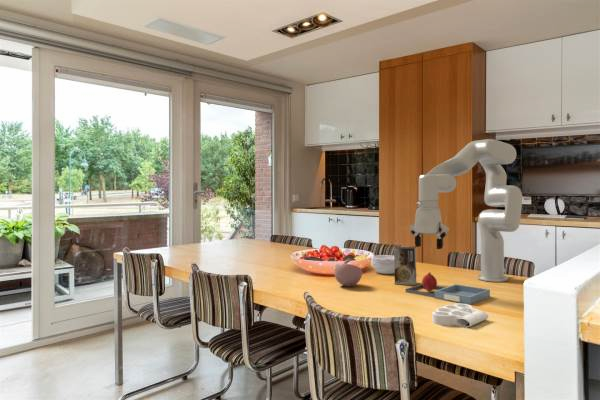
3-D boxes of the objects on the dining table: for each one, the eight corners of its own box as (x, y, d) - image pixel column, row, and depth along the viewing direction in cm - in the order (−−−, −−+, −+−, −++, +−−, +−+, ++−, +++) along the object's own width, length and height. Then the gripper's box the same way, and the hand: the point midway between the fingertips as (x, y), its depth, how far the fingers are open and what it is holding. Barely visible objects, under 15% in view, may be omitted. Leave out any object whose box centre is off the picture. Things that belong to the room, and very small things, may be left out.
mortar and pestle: (365, 284, 194) (365, 258, 193) (357, 290, 183) (357, 262, 183) (340, 282, 199) (339, 257, 198) (330, 287, 188) (330, 261, 188)
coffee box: (416, 282, 196) (416, 246, 195) (415, 285, 189) (415, 248, 189) (395, 281, 199) (395, 245, 198) (394, 284, 192) (393, 247, 192)
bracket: (423, 286, 187) (423, 283, 187) (451, 291, 178) (451, 288, 178) (405, 291, 178) (405, 289, 178) (434, 297, 168) (433, 294, 168)
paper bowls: (406, 271, 222) (406, 255, 222) (396, 276, 209) (395, 260, 209) (378, 268, 230) (378, 253, 230) (366, 273, 217) (366, 257, 217)
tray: (455, 291, 178) (455, 284, 178) (489, 296, 168) (489, 289, 167) (434, 298, 167) (434, 291, 167) (469, 305, 156) (469, 297, 156)
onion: (419, 290, 180) (419, 271, 180) (433, 289, 181) (433, 270, 180) (425, 293, 174) (424, 273, 174) (439, 293, 175) (439, 273, 175)
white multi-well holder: (464, 332, 129) (421, 321, 140) (493, 319, 141) (451, 310, 152) (464, 321, 129) (421, 311, 140) (493, 309, 140) (451, 300, 151)
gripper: (404, 205, 180) (404, 246, 181) (443, 205, 168) (443, 250, 168) (414, 204, 186) (415, 245, 186) (453, 205, 173) (453, 248, 173)
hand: (428, 247), depth 177 cm, fingers open, 9 cm apart
